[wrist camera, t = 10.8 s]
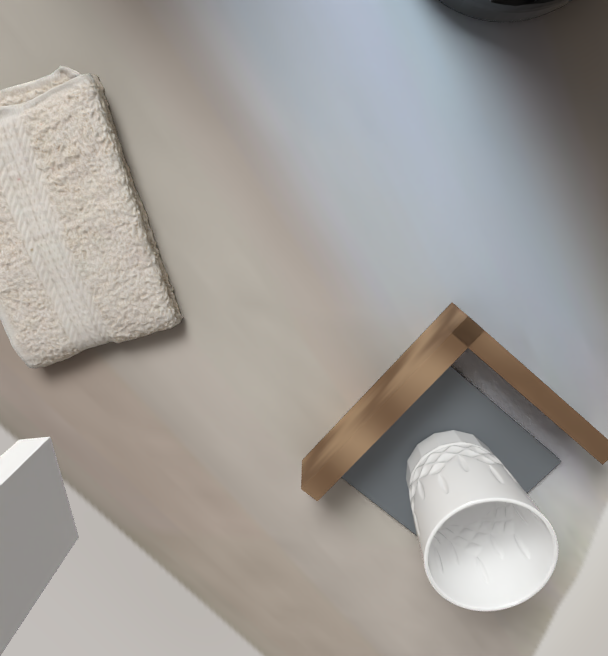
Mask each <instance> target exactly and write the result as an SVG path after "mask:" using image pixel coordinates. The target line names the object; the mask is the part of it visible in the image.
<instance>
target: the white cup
mask: <svg viewBox="0 0 608 656" xmlns="http://www.w3.org/2000/svg"><path fill="white" fill-rule="evenodd" d="M406 481H407V485H408V489H409V496H410V504H411V508H412V513H413V519H414V524H415V528H416V532H417V537H418V541H419V545H420V549H421V554H422V558H423V563H424V567H425V571H426V575H427V577H428V579H429V581H430V583H431V585H432V586H433V588H434V589H435V590H436V591H437V592H438V593H439V594H440V595H441V596H442V597H443V598H444V599H446V600H447V601H449V602H451V603H452V604H454V605H457V606H459V607H462V608H465V609H469V610H474V611H498V610H503V609H507V608H511V607H513V606H516V605H518V604H521V603H523V602H525V601H526V600H528V599H530V598H531V597H532V596H534V595H535V594H536V593H537V592H539V591H540V590H541V589H542V588H543V587H544V585H545V584H546V583H547V582H548V580H549V579H550V577H551V575H552V574H553V572H554V569H555V567H556V564H557V559H558V541H557V537H556V534H555V531H554V529H553V527H552V525H551V524H550V522H549V521H548V520H547V518H546V517H545V516H544V515H543V513H542V512H541V511H540V510H539V508H538V507H537V506H536V505H535V503H534V502H533V501H532V500H531V498H530V497H529V496H528V494H527V493H526V492H525V491H524V489H523V488H522V487H521V485H520V484H519V483H518V482H517V480H516V479H515V478H514V477H513V475H512V474H511V473H510V472H509V471H508V470H507V469H506V467H505V466H504V465H503V464H502V463H501V461H500V460H499V459H498V458H497V457H496V456H495V455H494V454H493V453H492V452H491V450H490V449H489V448H488V446H486V445H485V444H484V443H483V442H481V441H480V440H479V439H478V438H477V437H475V436H474V435H473V434H469V433H465V432H460V431H456V430H450V431H445V432H439V433H434V434H432V435H431V436H429V437H428V438H426V439H425V440H423V441H422V442H420V443H418V444H417V445H416V447H415V449H414V450H413V452H412V453H411V455H410V457H409V458H408V460H407V469H406Z"/></svg>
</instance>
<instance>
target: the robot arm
mask: <svg viewBox="0 0 608 656" xmlns="http://www.w3.org/2000/svg"><path fill="white" fill-rule="evenodd" d="M439 1H441V2H442V3H444V4H445V5H447V6H448V7H450V8H452V9H454V10H455V11H458V12H460V13H462V14H464V15H467V16H470V17H473V18H477V19H481V20H487V21H496V22H511V21H520V20H526V19H530V18H534V17H538V16H541V15H544V14H546V13H549V12H551V11H553V10H556V9H558V8H559V7H561V6H563V5H565V4H567V3H568V2H570V1H572V0H439ZM77 539H78V533H77V529H76V526H75V522H74V519H73V516H72V512H71V508H70V504H69V501H68V497H67V494H66V490H65V487H64V483H63V480H62V476H61V472H60V469H59V465H58V462H57V458H56V455H55V451H54V448H53V444H52V440H51V437H42V438H33V439H23V440H18V441H17V442H16V443H15V444H14V445H13V446H11V447H10V448H9V449H8V450H7V451H6V452H5V453H4V454H3V455H1V456H0V655H1V654H2V653H3V651H4V650H5V648H6V647H7V645H8V643H9V642H10V640H11V639H12V637H13V636H14V634H15V633H16V631H17V630H18V628H19V627H20V625H21V624H22V622H23V621H24V619H25V618H26V616H27V615H28V613H29V611H30V610H31V609H32V607H33V606H34V604H35V603H36V601H37V599H38V598H39V597H40V595H41V593H42V592H43V590H44V589H45V587H46V586H47V584H48V583H49V581H50V580H51V578H52V576H53V575H54V574H55V572H56V571H57V569H58V568H59V566H60V565H61V563H62V562H63V560H64V558H65V557H66V556H67V554H68V553H69V551H70V549H71V548H72V546H73V545H74V543H75V542H76V540H77Z"/></svg>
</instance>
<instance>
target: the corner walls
mask: <svg viewBox="0 0 608 656" xmlns="http://www.w3.org/2000/svg"><path fill="white" fill-rule="evenodd" d="M467 348H469V349H470V350H471V351H473V352H474V353H475V354H476V355H477V356H478V357H479V358H481V359H482V360H483V361H484V362H485V363H486V364H487V365H489V366H490V367H491V368H492V369H493V370H494V371H496V372H497V373H498V374H499V375H500V376H501V377H502V378H504V379H505V380H506V381H507V382H508V383H509V384H510V385H512V386H513V387H514V388H515V389H516V390H517V391H519V392H520V393H521V394H522V395H523V396H524V397H525V398H527V399H528V400H529V401H530V402H531V403H532V404H533V405H535V406H536V407H537V408H538V409H539V410H540V411H541V412H543V413H544V414H545V415H546V416H547V417H548V418H550V419H551V420H552V421H553V422H554V423H555V424H556V425H558V426H559V427H560V428H561V429H562V430H563V431H564V432H566V433H567V434H568V435H569V436H570V437H571V438H573V439H574V440H575V441H576V442H577V443H578V444H579V445H581V446H582V447H583V448H584V449H585V450H586V451H587V452H589V453H590V454H591V455H592V456H593V457H594V458H596V459H597V460H598V461H599V462H600V463H601V464H602V465H603V464H604V463H605V462H606V461H607V460H608V439H607V438H606V437H604V436H603V435H602V434H601V433H600V432H599V431H598V430H596V429H595V428H594V427H593V426H592V425H591V424H590V423H589V422H587V421H586V420H585V419H584V418H583V417H582V416H581V415H580V414H578V413H577V412H576V411H575V410H574V409H573V408H572V407H570V406H569V405H568V404H567V403H566V402H565V401H564V400H563V399H561V398H560V397H559V396H558V395H557V394H556V393H555V392H553V391H552V390H551V389H550V388H549V387H548V386H547V385H546V384H544V383H543V382H542V381H541V380H540V379H539V378H538V377H537V376H535V375H534V374H533V373H532V372H531V371H530V370H529V369H527V368H526V367H525V366H524V365H523V364H522V363H521V362H520V361H518V360H517V359H516V358H515V357H514V356H513V355H512V354H510V353H509V352H508V351H507V350H506V349H505V348H504V347H503V346H501V345H500V344H499V343H498V342H497V341H496V340H495V339H494V338H492V337H491V336H490V335H489V334H488V333H487V332H486V331H484V330H483V329H482V328H481V327H480V326H479V325H478V324H477V323H475V322H474V321H473V320H472V319H471V318H470V317H469V316H467V315H466V314H465V313H464V312H463V311H462V310H461V309H459V308H458V307H457V306H456V305H455V304H454V303H451V304H450V305H449V306H448V307H447V308H446V309H445V310H444V311H443V312H442V313H441V315H440V316H439V317H438V318H437V319H436V320H435V321H434V322H433V323H432V324H431V325H430V326H429V327H428V328H427V329H426V330H425V331H424V332H423V333H422V335H421V336H420V337H419V338H418V339H417V340H416V341H415V342H414V343H413V344H412V345H411V346H410V347H409V348H408V349H407V350H406V351H405V352H404V353H403V355H402V356H401V357H400V358H399V359H398V360H397V361H396V362H395V363H394V364H393V365H392V366H391V367H390V368H389V369H388V370H387V371H386V372H385V374H384V375H383V376H382V377H381V378H380V379H379V380H378V381H377V382H376V383H375V384H374V385H373V386H372V387H371V388H370V389H369V390H368V391H367V392H366V394H365V395H364V396H363V397H362V398H361V399H360V400H359V401H358V402H357V403H356V404H355V405H354V406H353V407H352V408H351V409H350V410H349V411H348V413H347V414H346V415H345V416H344V417H343V418H342V419H341V420H340V421H339V422H338V423H337V424H336V425H335V426H334V427H333V428H332V429H331V430H330V431H329V433H328V434H327V435H326V436H325V437H324V438H323V439H322V440H321V441H320V442H319V443H318V444H317V445H316V446H315V447H314V448H313V449H312V450H311V452H310V453H309V454H308V455H307V456H306V457H305V458H304V459H303V460H302V480H301V489H302V490H303V491H304V492H306V493H307V494H308V495H310V496H311V497H312V498H314V499H315V500H316V501H318V500H319V499H320V498H321V497H322V496H323V495H324V494H325V493H326V492H327V491H328V490H329V489H330V488H331V487H332V486H333V485H334V484H335V483H336V482H337V481H338V480H339V479H340V478H341V477H342V476H343V475H344V474H345V473H346V472H347V471H348V470H349V469H350V468H351V467H352V466H353V465H354V463H355V462H356V461H357V460H358V459H359V458H360V457H361V456H362V455H363V454H364V453H365V452H366V451H367V450H368V449H369V448H370V447H371V446H372V445H373V444H374V443H375V442H376V441H377V440H378V439H379V438H380V437H381V436H382V435H383V434H384V433H385V432H386V431H387V430H388V429H389V428H390V427H391V426H392V425H393V424H394V423H395V422H396V421H397V420H398V419H399V418H400V417H401V416H402V415H403V414H404V413H405V412H406V410H407V409H408V408H409V407H410V406H411V405H412V404H413V403H414V402H415V401H416V400H417V399H418V398H419V397H420V396H421V395H422V394H423V393H424V392H425V391H426V390H427V389H428V388H429V387H430V386H431V385H432V384H433V383H434V382H435V381H436V380H437V379H438V378H439V377H440V376H441V375H442V374H443V373H444V372H445V371H446V370H447V369H448V368H449V367H450V366H451V365H452V364H453V363H454V362H455V361H456V360H457V359H458V357H459V356H460V355H461V354H462V353H463V352H464V351H465V350H466V349H467Z"/></svg>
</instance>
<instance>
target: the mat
mask: <svg viewBox="0 0 608 656" xmlns="http://www.w3.org/2000/svg"><path fill="white" fill-rule="evenodd" d="M450 430H456V431H460V432H465V433H469V434H473V435H474V436H475V437H477V438H478V439H479V440H480V441H481V442H483V443H484V444H485V445H486V446H488V448H489V449H490V450H491V452H492V453H493V454H494V455H495V456H496V457H497V458H498V459H499V460H500V461H501V463H502V464H503V465H504V466H505V467H506V469H507V470H508V471H509V472H510V473H511V474H512V475H513V477H514V478H515V479H516V480H517V482H518V483H519V484H520V485H521V487H522V488H523V489H524V491H525V492H526V493H527V492H528V491H530V490H531V489H532V488H533V487H534V486H535V485H536V484H537V483H538V482H539V481H541V480H542V479H543V478H544V477H545V476H546V475H547V474H548V473H549V472H550V471H552V470H553V469H554V468H555V467H556V466H557V465H558V464H559V463H560V462H561V460H560V459H559V458H557V457H556V456H555V455H554V454H553V453H552V452H550V451H549V450H548V449H547V448H546V447H545V446H543V445H542V444H541V443H540V442H539V441H538V440H536V439H535V438H534V437H533V436H532V435H531V434H529V433H528V432H527V431H526V430H525V429H524V428H522V427H521V426H520V425H519V424H518V423H517V422H515V421H514V420H513V419H512V418H511V417H510V416H508V415H507V414H506V413H505V412H504V411H503V410H501V409H500V408H499V407H498V406H497V405H496V404H494V403H493V402H492V401H491V400H490V399H489V398H487V397H486V396H485V395H484V394H483V393H482V392H480V391H479V390H478V389H477V388H476V387H475V386H473V385H472V384H471V383H470V382H469V381H467V380H466V379H465V378H464V377H463V376H462V375H460V374H459V373H458V372H457V371H456V370H455V369H453V368H452V367H451V366H450V367H449V368H448V369H447V370H446V371H445V372H444V373H443V374H442V375H441V376H440V377H439V378H438V379H437V380H436V381H435V382H434V383H433V384H432V385H431V386H430V387H429V388H428V389H427V390H426V391H425V392H424V393H423V394H422V395H421V396H420V397H419V398H418V399H417V400H416V401H415V402H414V403H413V404H412V405H411V406H410V407H409V408H408V409H407V410H406V412H405V413H404V414H403V415H402V416H401V417H400V418H399V419H398V420H397V421H396V422H395V423H394V424H393V425H392V426H391V427H390V428H389V429H388V430H387V431H386V432H385V433H384V434H383V435H382V436H381V437H380V438H379V439H378V440H377V441H376V442H375V443H374V444H373V445H372V446H371V447H370V448H369V449H368V450H367V451H366V452H365V453H364V454H363V455H362V456H361V457H360V458H359V459H358V460H357V461H356V462H355V463H354V465H353V466H352V467H351V468H350V469H349V470H348V471H347V472H346V473H345V474H344V475H343V476H342V478H343V479H344V480H346V481H347V482H348V483H349V484H351V485H352V486H353V487H355V488H356V489H357V490H358V491H360V492H361V493H362V494H364V495H365V496H366V497H368V498H369V499H370V500H371V501H373V502H374V503H375V504H377V505H378V506H379V507H380V508H382V509H383V510H384V511H386V512H387V513H388V514H390V515H391V516H392V517H393V518H395V519H396V520H397V521H399V522H400V523H401V524H402V525H404V526H405V527H406V528H408V529H409V530H410V531H412V532H413V533H414V534H415V535H417V532H416V528H415V524H414V519H413V513H412V508H411V504H410V496H409V489H408V485H407V481H406V469H407V460H408V458H409V457H410V455H411V453H412V452H413V450H414V449H415V447H416V445H417V444H418V443H420V442H422V441H423V440H425V439H426V438H428V437H429V436H431V435H432V434H434V433H439V432H445V431H450Z"/></svg>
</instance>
